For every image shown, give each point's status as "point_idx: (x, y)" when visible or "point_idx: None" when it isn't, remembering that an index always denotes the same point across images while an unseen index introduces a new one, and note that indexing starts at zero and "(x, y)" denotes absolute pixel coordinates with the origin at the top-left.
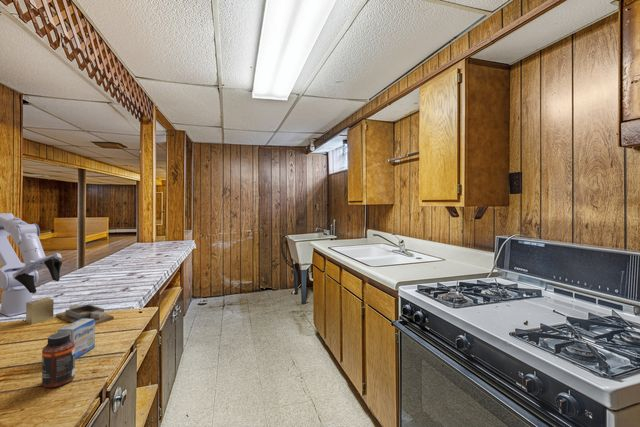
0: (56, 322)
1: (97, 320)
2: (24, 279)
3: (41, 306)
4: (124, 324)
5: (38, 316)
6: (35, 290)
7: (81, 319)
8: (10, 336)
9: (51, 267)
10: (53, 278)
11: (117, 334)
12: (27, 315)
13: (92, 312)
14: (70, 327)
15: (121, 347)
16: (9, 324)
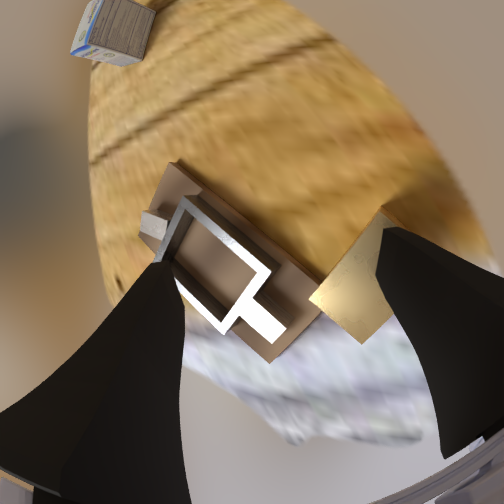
0: (296, 220)
1: (157, 200)
2: (490, 298)
3: (351, 246)
4: (113, 191)
5: (364, 228)
6: (383, 282)
7: (84, 39)
8: (370, 86)
9: (74, 362)
10: (154, 269)
11: (108, 130)
12: None
13: (165, 228)
14: (91, 5)
15: (94, 82)
16: (468, 222)
